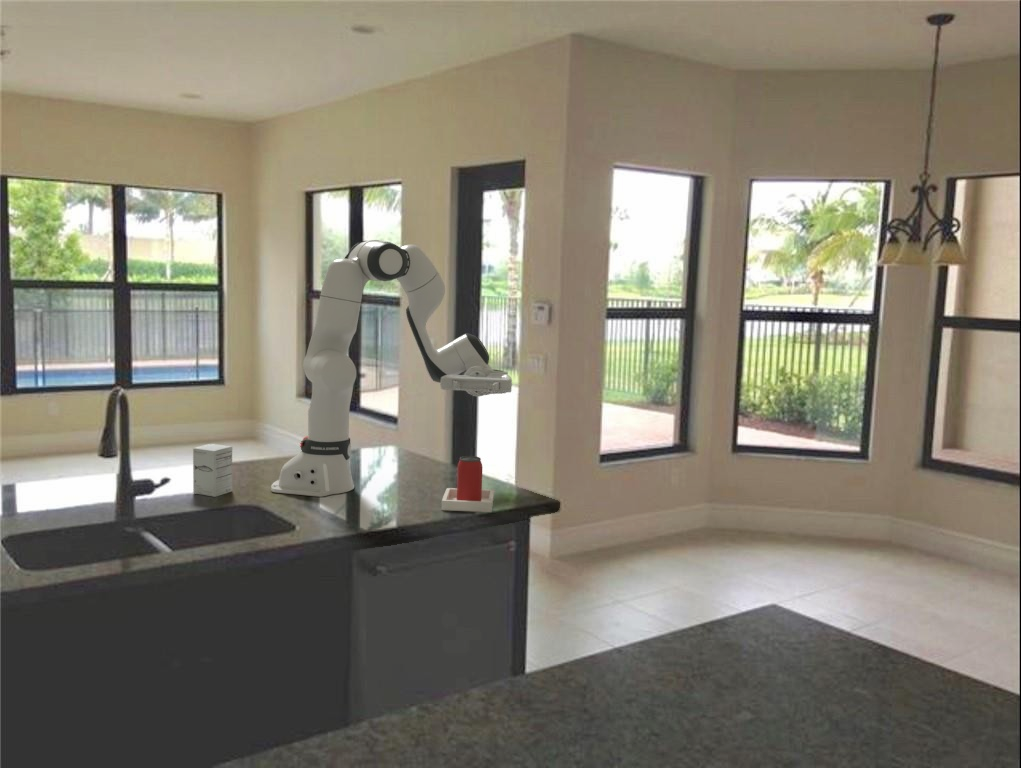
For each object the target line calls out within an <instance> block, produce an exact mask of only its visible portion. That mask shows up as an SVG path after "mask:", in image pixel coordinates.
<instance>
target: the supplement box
mask: <svg viewBox="0 0 1021 768" xmlns="http://www.w3.org/2000/svg"><path fill="white" fill-rule="evenodd" d="M192 460H193V461H192V462H193V463H192V465H193V471H192V472H193V473H192V474H193V475H192V476H193V477H192V478H193V480H192V482H193V483H192V484H193V485H192V486H193V491H192V492H193V494H196V495H197V494H198V495H202V496H209V497H213V498H214V497H215V498H216V497H219V496H222V495H225V494H228V493H231V492H233V446H231V445H224V444H217V443H208V444H203V445H199V446H196V447H193V448H192Z"/></svg>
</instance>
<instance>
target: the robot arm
mask: <svg viewBox="0 0 1021 768" xmlns="http://www.w3.org/2000/svg"><path fill="white" fill-rule="evenodd" d="M393 280H394V281H395V280H397V282H399V284H400V286H401V288H402V289H403V291H404V292H405V294H406V296H407V301H408V305H407V307H406V308H405V313H406V319H407V322H408V324H409V327H410V329H411V332H412V334H413V337H414V339H415V342H416V344H417V346H418V349H419V351H420V354H421V356H422V357H421V358H423V362H424V365H425V369H426V372H427V374H428V376H429V377H430V379H431V380H432V381H433V382H435V383H440V386H439V387H440V389H441V390H442V391H443V390H444V391H445V390H446V391H465V392H466V393H467V394H469V395H470V396H472V397H482V396H488V395H489V396H490V395H495V394H496V395H497V394H506V393H511V392H512V388H513V387H512V385H513V384H512V383H513V382H512V381H513V380H512V376H510V374H508V371H506V370H502V369H501V370H500V369H494V368H492V367H491V365H490V364H489V363H490V355H489V353H488V349H487V348H486V346H485V345H484V343H483V342H482V341H481V339H479V337H478V336H476V335H474V334H471V333H467V332H466V333H464V334H462V335H460V336H459V337H457V338H455V339H454V340H452V341H449V343H446V344H444V345H443V346H441V347H439V348H434V346H433V343H432V340H431V339H430V338H431V337H430V336H429V333H428V331H427V329H426V325H427V323H428V321H429V319H430V318H431V317H432V315H433V314H434V313H435V311H436V310H438V308H439V307H440V306H441V304H442V302H443V300H444V297H445V294H446V285H445V282H444V280H443V277H441V275H440V273H439V271H438V269H437V268H436V267H435V265H434V264H433V262H432V261H431V259H430V257H428V255H426V253H425V252H424V251H423V250H422V249H421V247H419V245H415V244H412V243H411V244H410V243H409V244H405V245H403V246H399V245H397V244H396V243H392V242H390V241H382V240H379V239H371V240H362V241H359V242H357V243H355V244H354V245H353V246H352V247H351V248H350V250H349V251H348V253H347V254H346V256H344V257H343V258H342V257H341V258H337V259H334V260H332V261H331V262H330V263H329V265H328V266H327V269H326V272H325V276H324V279H323V282H322V286H321V291H320V295H319V303H318V308H317V314H316V318H315V319H316V320H315V324H314V327H313V331H312V334H311V337H310V341H309V344H308V348H307V349H306V350H307V351H306V354H305V356H304V359H303V363H302V364H303V371H304V374H305V376H306V378H307V380H308V381H309V382H311V383H312V391H311V400H310V404H309V408H308V411H307V415H308V416H307V419H308V420H307V433H308V435H306V436H305V437H303V438H302V440H301V441H300V444H299V446H300V447H299V448H300V450H301V451H299V452H298V453H297V454H296V455H294V456H293V457H292V458H291V459H288V461H287V462H285V463H284V465H282V467H281V468H280V469H281V470H280V473H279V478H278V479H277V480H276V481H273V483H271V486H270V491H271V492H273V493H278V494H279V493H280V494H289V495H301V496H310V497H321V498H322V497H327V496H330V495H338V494H343V493H347V492H350V491H352V490H354V488H355V484H354V480H353V477H352V472H351V471H352V470H351V463H350V459H351V454H352V445H351V438H350V408H351V407H350V406H351V402H352V397H353V396H352V395H353V390H354V384H355V381H356V379H357V368H356V365H355V363H354V362H353V360H352V359H351V357H350V356H348V351H349V348H350V346H351V343H352V340H353V337H354V335H355V334H356V332H357V328H358V327H357V326H358V322H359V321H358V320H359V317H360V310H361V305H362V298H363V291H364V289H365V287H366V284H367V283H368V282H369V281H374V282H390V281H393ZM462 373H464V374H462Z"/></svg>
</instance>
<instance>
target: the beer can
mask: <svg viewBox="0 0 1021 768" xmlns="http://www.w3.org/2000/svg"><path fill="white" fill-rule="evenodd" d="M456 477H457V478H456V483H457V484H456V488H457V500H463V501H481V499H482V489H483V463H482V458H481V457H480V456H475V455H465V456H464V455H463V456H460V457H459V461H458V463H457V475H456Z"/></svg>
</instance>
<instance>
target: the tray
mask: <svg viewBox="0 0 1021 768" xmlns="http://www.w3.org/2000/svg"><path fill="white" fill-rule="evenodd" d="M494 500H495V489H486V488H485V489H483V488H482V499H481V501H463V500H457V487H456V488H455V487H454V488H453V487H447V488H446V489H445V492H444V494H443V496H442V499H441V511H455V512H456V511H458V512H478V513H479V512H482V513H492V511H493V508H492V507H493V506H494V502H493V501H494Z"/></svg>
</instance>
